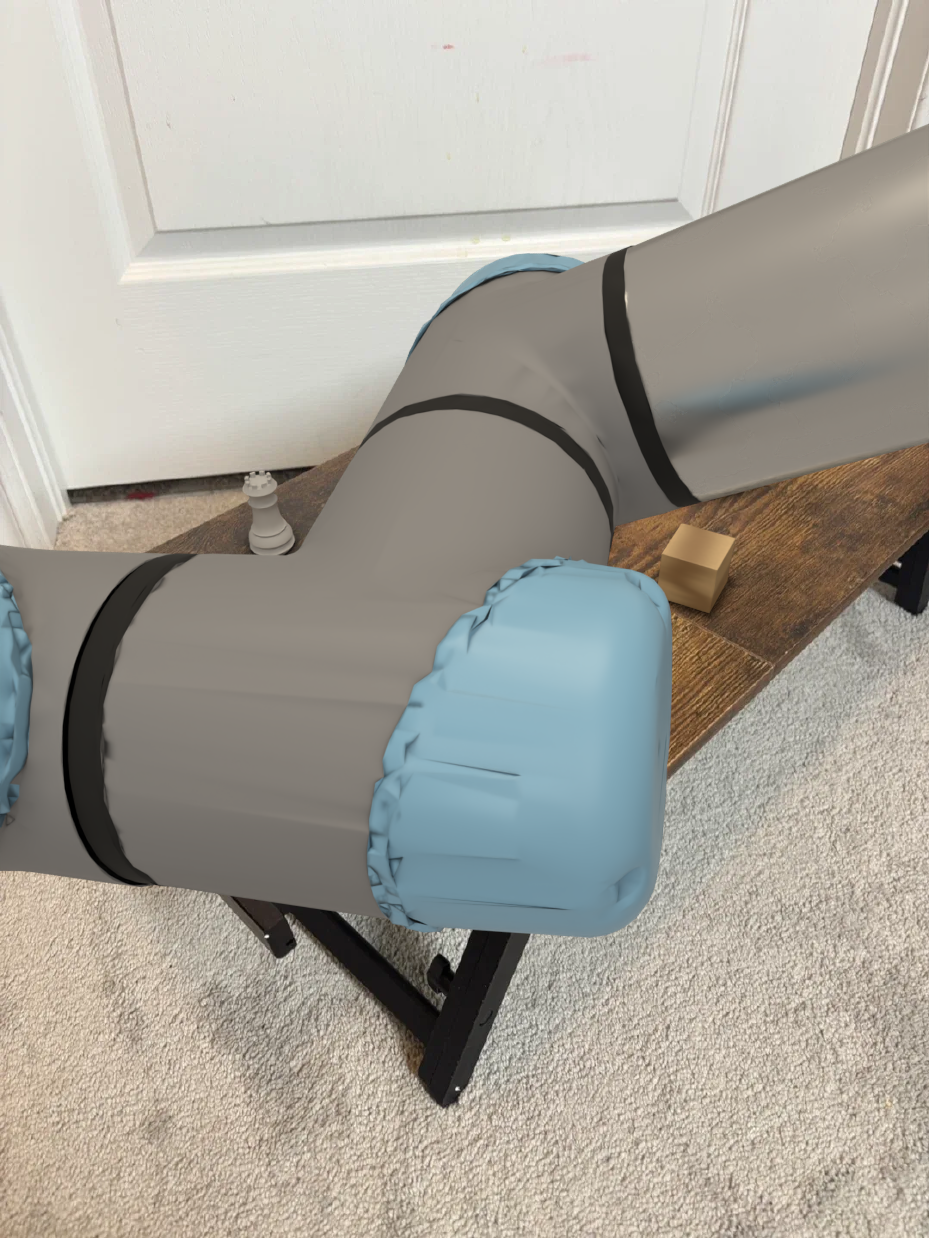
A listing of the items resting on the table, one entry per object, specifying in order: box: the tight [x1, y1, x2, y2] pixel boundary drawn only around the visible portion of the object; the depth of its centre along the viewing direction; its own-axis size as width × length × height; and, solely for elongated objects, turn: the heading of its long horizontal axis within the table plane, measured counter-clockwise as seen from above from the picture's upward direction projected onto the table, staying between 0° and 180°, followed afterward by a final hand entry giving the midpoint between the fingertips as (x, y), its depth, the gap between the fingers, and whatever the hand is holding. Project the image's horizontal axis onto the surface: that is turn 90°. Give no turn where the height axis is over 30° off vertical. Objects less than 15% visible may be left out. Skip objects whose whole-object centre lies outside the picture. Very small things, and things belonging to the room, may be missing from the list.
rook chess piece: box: [242, 470, 296, 555], centre depth 89 cm, size 4×4×8 cm
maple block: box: [657, 522, 736, 614], centre depth 83 cm, size 5×5×5 cm
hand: (423, 690), depth 55 cm, fingers closed
